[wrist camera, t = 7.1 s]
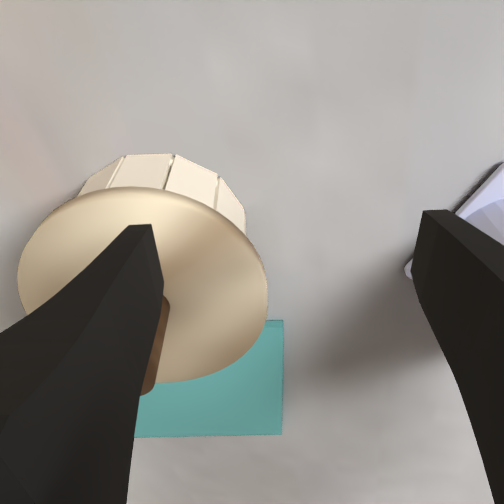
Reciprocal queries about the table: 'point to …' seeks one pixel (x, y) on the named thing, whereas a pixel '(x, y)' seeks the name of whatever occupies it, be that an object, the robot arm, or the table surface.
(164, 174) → the bowl
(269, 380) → the mat
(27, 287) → the cover
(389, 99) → the table surface
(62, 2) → the table surface
